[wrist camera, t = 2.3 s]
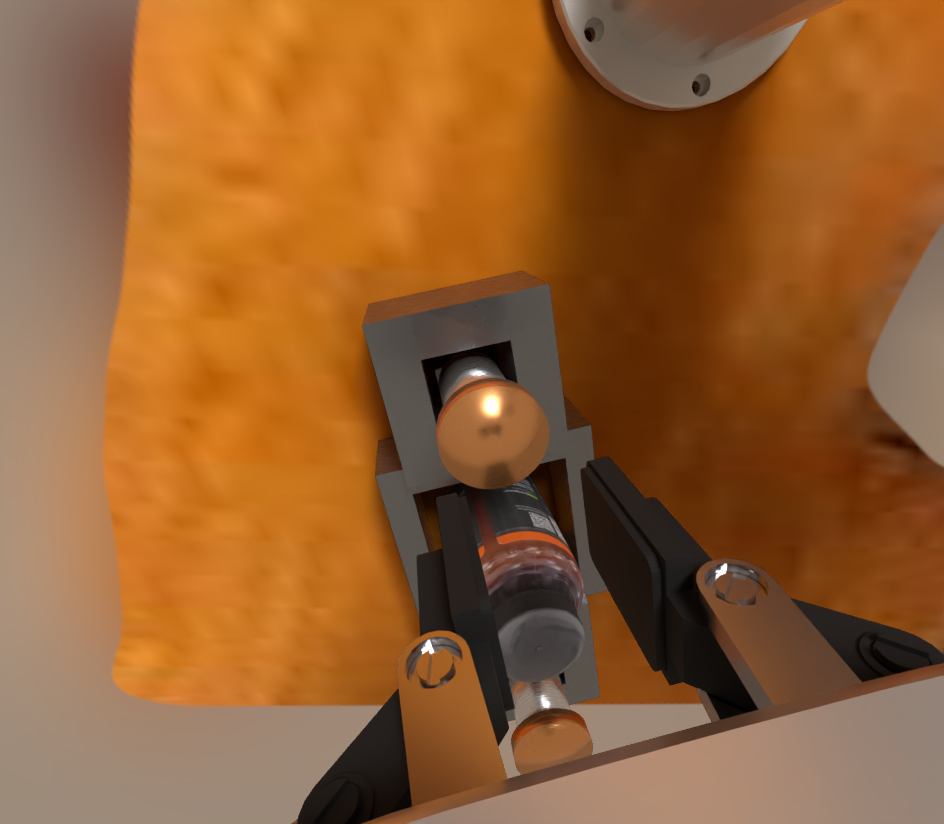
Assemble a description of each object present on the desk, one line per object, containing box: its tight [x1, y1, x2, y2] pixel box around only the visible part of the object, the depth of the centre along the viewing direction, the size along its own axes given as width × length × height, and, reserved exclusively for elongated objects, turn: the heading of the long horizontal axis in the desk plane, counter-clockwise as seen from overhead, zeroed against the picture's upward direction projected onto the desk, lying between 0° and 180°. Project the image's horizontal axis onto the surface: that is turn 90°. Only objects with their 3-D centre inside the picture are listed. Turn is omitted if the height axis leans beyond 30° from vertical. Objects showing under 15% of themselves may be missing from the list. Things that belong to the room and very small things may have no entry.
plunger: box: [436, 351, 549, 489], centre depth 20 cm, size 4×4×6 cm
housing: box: [362, 271, 607, 721], centre depth 28 cm, size 26×11×5 cm, turn 11°
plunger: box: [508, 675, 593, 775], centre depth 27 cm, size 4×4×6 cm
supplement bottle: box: [444, 475, 585, 682], centre depth 25 cm, size 6×6×11 cm
